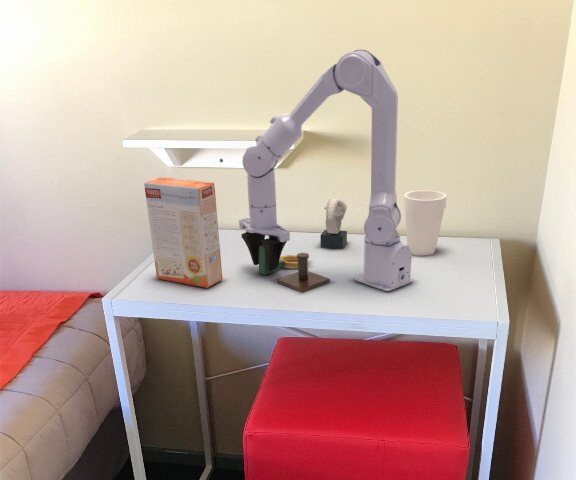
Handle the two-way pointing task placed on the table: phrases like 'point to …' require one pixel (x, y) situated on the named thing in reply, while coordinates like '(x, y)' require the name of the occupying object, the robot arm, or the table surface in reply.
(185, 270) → the cracker box
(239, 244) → the table surface
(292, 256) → the octagonal ring with handle
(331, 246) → the bust statue
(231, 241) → the table surface
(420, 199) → the foam cup
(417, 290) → the table surface
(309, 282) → the peg stand
